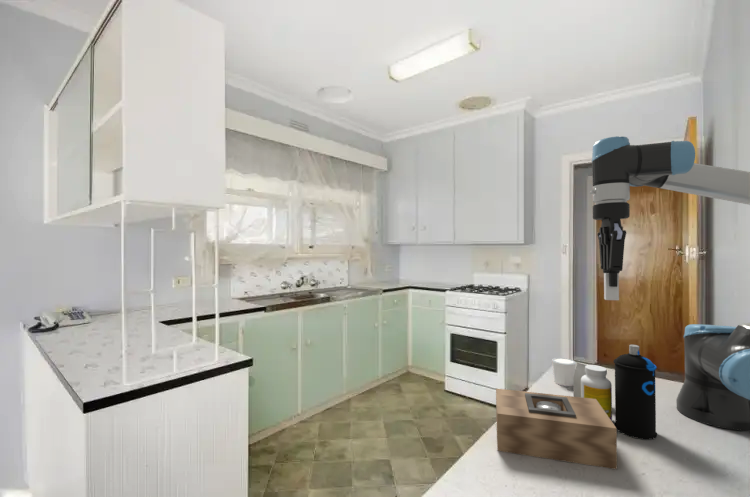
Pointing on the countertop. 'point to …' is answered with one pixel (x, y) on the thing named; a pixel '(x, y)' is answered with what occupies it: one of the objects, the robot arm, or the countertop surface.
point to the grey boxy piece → (578, 379)
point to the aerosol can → (635, 395)
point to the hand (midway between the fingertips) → (611, 299)
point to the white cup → (563, 371)
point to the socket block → (555, 428)
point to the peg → (548, 405)
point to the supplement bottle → (597, 387)
